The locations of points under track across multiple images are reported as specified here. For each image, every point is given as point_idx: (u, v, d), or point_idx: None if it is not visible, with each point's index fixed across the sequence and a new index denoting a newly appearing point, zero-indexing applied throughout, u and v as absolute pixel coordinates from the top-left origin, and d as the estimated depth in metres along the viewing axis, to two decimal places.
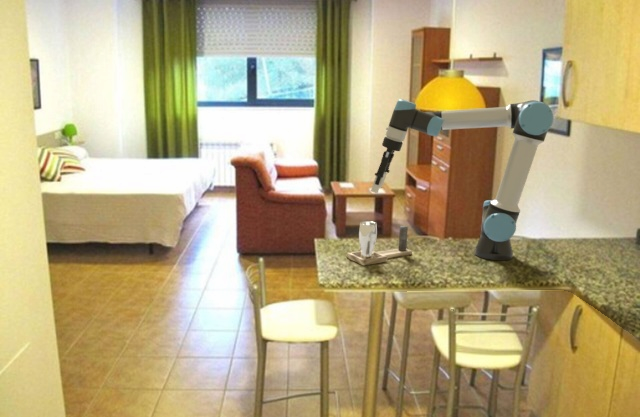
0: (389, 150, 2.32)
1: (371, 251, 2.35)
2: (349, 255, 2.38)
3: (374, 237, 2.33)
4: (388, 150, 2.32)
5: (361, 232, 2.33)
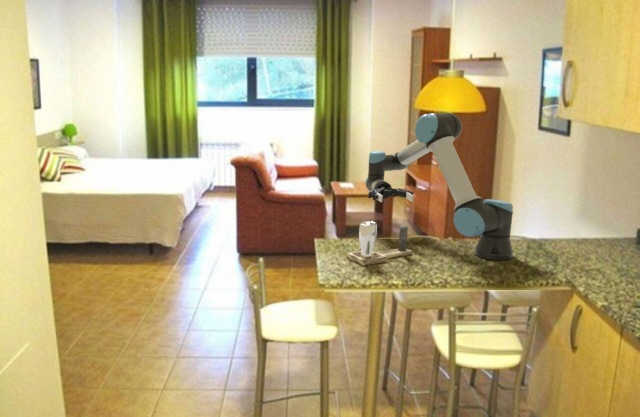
0: (376, 190, 2.67)
1: (371, 251, 2.35)
2: (349, 255, 2.38)
3: (374, 237, 2.33)
4: None
5: (361, 232, 2.33)
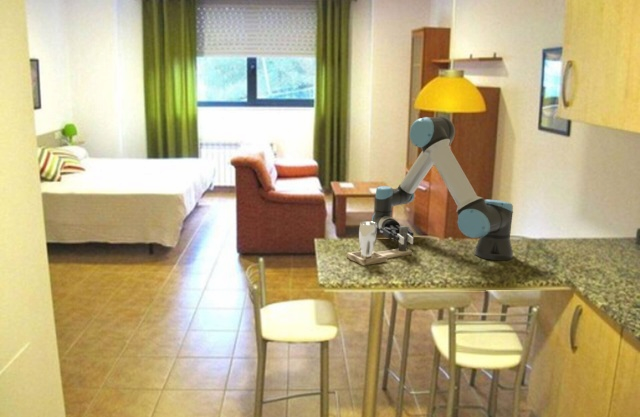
0: None
1: (371, 251, 2.35)
2: (349, 255, 2.38)
3: (374, 237, 2.33)
4: None
5: (361, 232, 2.33)
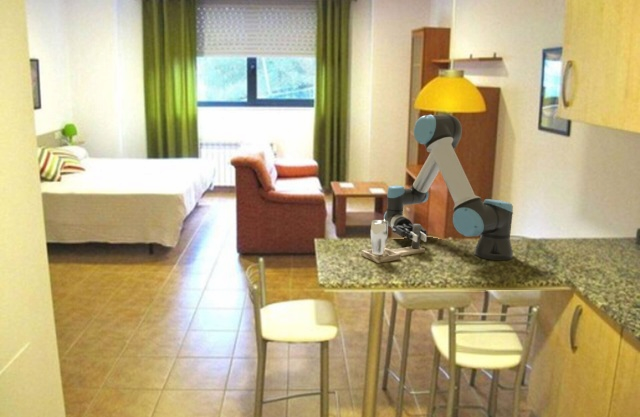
0: None
1: (382, 249, 2.37)
2: (363, 253, 2.41)
3: (385, 236, 2.36)
4: None
5: (372, 230, 2.36)
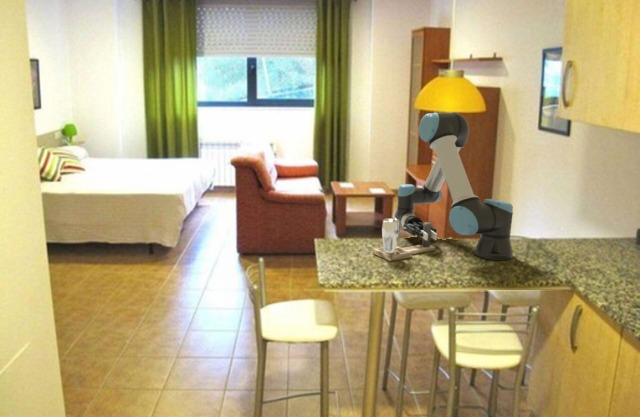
0: None
1: (394, 247, 2.40)
2: (375, 251, 2.44)
3: (397, 234, 2.39)
4: None
5: (384, 229, 2.39)
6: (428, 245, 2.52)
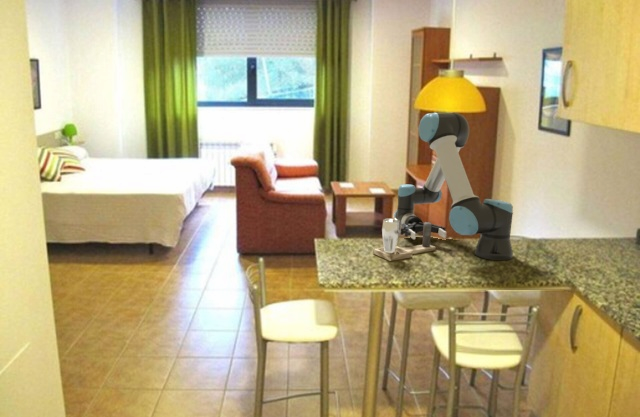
0: None
1: (394, 248, 2.40)
2: (375, 251, 2.44)
3: (397, 234, 2.39)
4: (407, 226, 2.64)
5: (384, 229, 2.39)
6: (428, 245, 2.52)
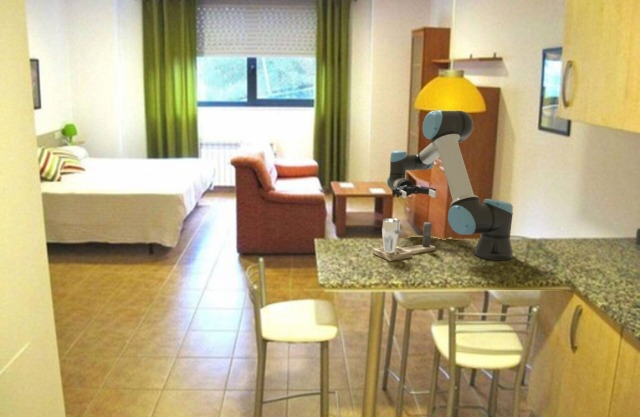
0: (399, 188, 2.74)
1: (394, 248, 2.40)
2: (375, 251, 2.44)
3: (397, 234, 2.39)
4: None
5: (384, 229, 2.39)
6: (428, 245, 2.52)
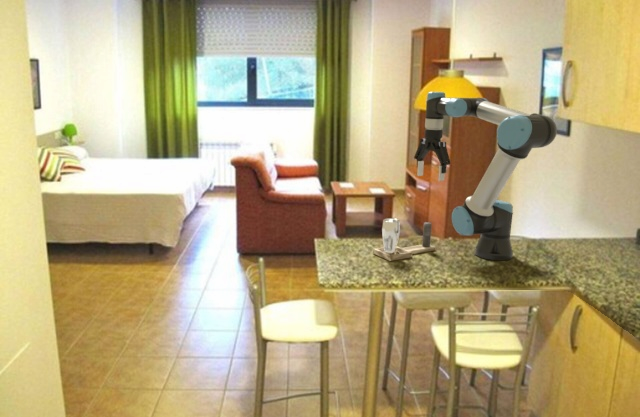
0: None
1: (394, 248, 2.40)
2: (375, 251, 2.44)
3: (397, 234, 2.39)
4: None
5: (384, 229, 2.39)
6: (428, 245, 2.52)
